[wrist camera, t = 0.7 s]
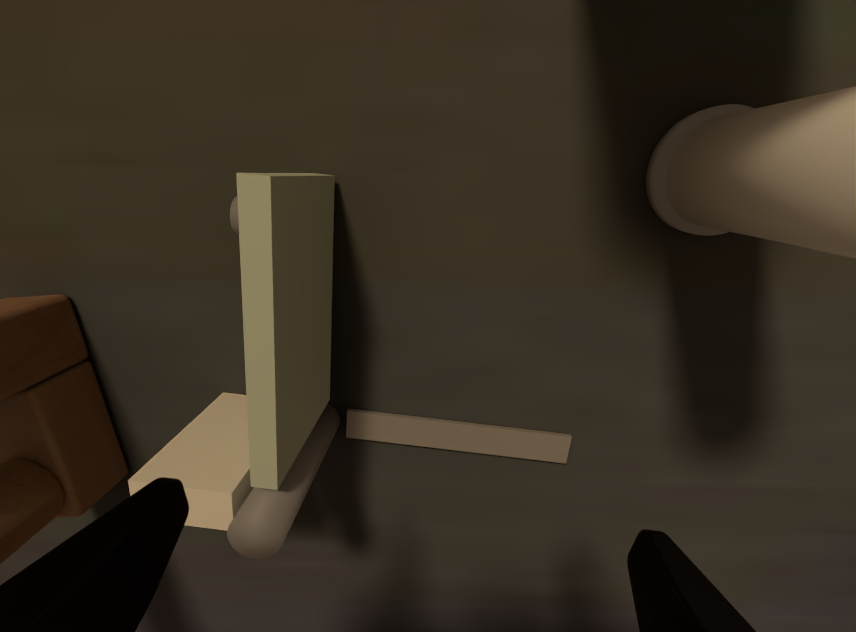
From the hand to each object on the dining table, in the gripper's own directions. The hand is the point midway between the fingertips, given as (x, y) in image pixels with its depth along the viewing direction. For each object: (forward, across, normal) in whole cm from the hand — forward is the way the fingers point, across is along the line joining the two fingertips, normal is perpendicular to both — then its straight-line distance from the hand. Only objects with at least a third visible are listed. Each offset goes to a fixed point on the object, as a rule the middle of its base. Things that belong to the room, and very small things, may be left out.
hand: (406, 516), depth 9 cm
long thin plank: (+12, +2, +9) cm, 15 cm away
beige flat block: (+13, +6, +2) cm, 14 cm away
